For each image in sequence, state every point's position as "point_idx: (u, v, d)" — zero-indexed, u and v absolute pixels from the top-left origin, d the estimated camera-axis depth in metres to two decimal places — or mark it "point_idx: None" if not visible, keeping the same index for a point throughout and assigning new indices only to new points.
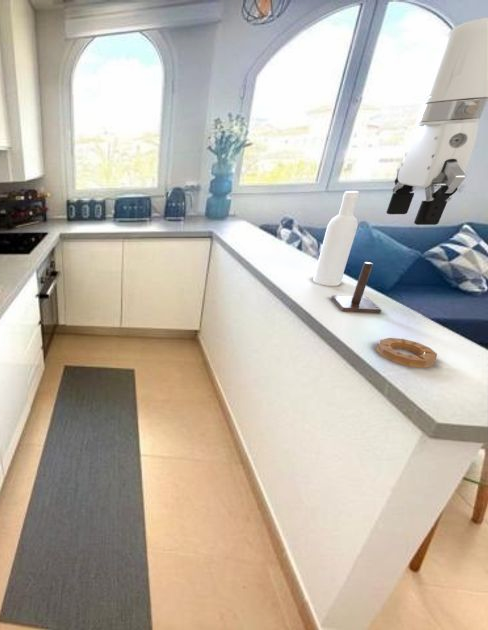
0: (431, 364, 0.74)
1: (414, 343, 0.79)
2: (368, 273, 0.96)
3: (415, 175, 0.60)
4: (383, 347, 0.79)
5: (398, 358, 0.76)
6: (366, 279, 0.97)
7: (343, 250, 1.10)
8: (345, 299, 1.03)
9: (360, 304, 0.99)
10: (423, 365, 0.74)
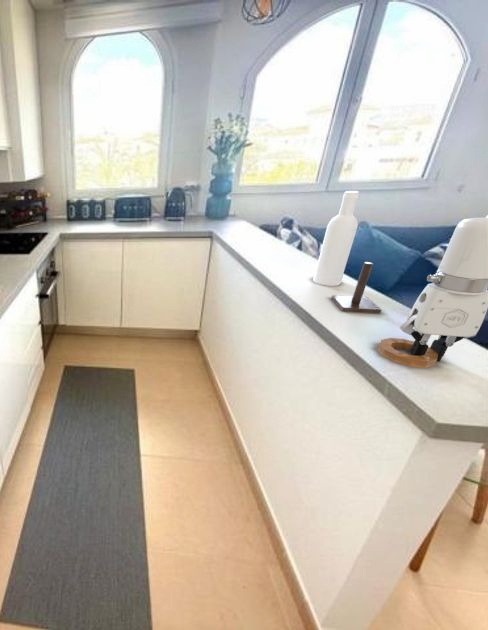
0: (432, 364, 0.74)
1: None
2: (368, 273, 0.96)
3: None
4: (384, 347, 0.79)
5: (399, 358, 0.75)
6: (366, 279, 0.97)
7: (343, 250, 1.10)
8: (345, 299, 1.03)
9: (360, 304, 0.99)
10: (424, 365, 0.74)
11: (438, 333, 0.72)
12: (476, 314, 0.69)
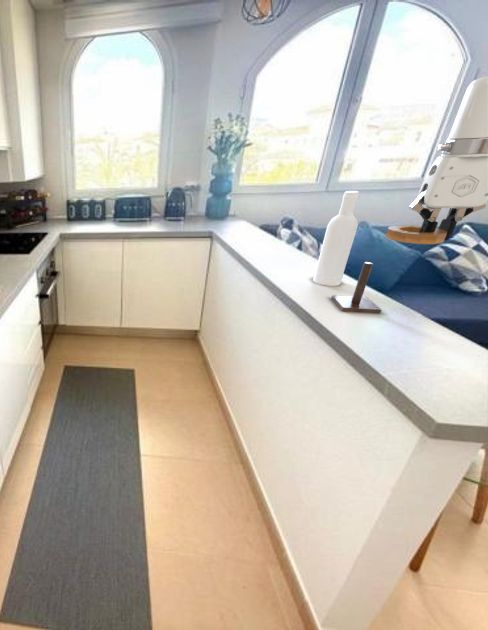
0: (442, 239, 0.74)
1: None
2: (368, 273, 0.96)
3: None
4: (393, 230, 0.78)
5: (409, 236, 0.75)
6: (366, 279, 0.97)
7: (343, 250, 1.10)
8: (345, 299, 1.03)
9: (360, 304, 0.99)
10: (434, 240, 0.73)
11: (448, 205, 0.72)
12: (486, 179, 0.69)
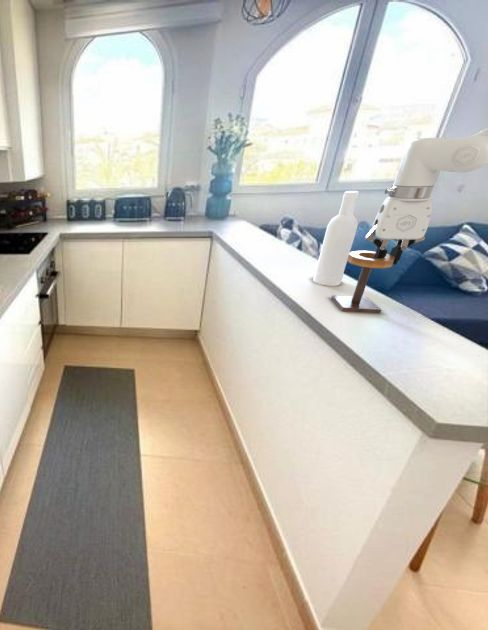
0: (390, 264, 0.91)
1: None
2: (368, 273, 0.96)
3: None
4: (352, 255, 0.95)
5: (363, 261, 0.92)
6: (366, 279, 0.97)
7: (343, 250, 1.10)
8: (345, 299, 1.03)
9: (360, 304, 0.99)
10: (383, 265, 0.91)
11: (394, 237, 0.89)
12: (423, 218, 0.86)
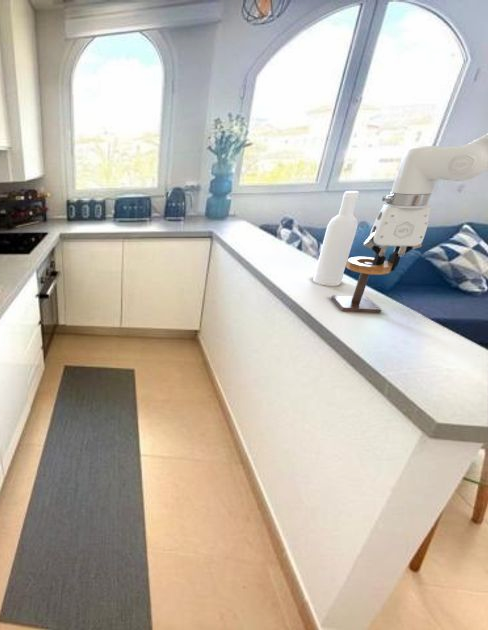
0: (388, 271, 0.92)
1: None
2: None
3: None
4: (350, 261, 0.96)
5: (361, 267, 0.93)
6: (366, 279, 0.97)
7: (343, 250, 1.10)
8: (345, 299, 1.03)
9: (360, 304, 0.99)
10: (381, 271, 0.91)
11: (392, 244, 0.90)
12: (420, 225, 0.86)
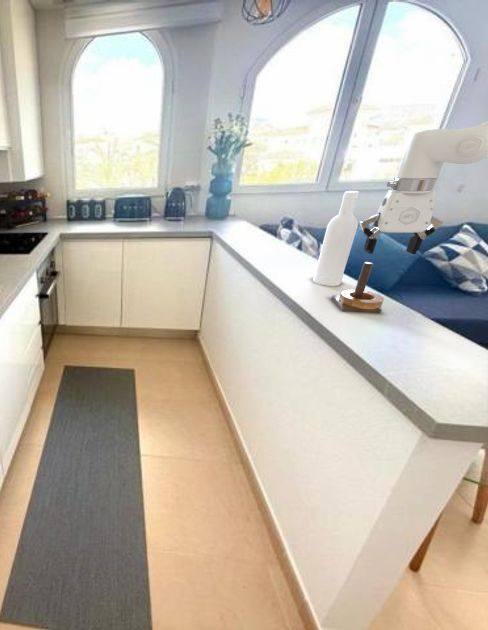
0: (379, 305, 0.96)
1: (367, 292, 1.01)
2: (368, 273, 0.96)
3: None
4: (344, 295, 1.01)
5: (354, 302, 0.98)
6: (366, 279, 0.97)
7: (343, 250, 1.10)
8: None
9: None
10: (373, 306, 0.96)
11: (396, 230, 0.88)
12: (426, 211, 0.85)
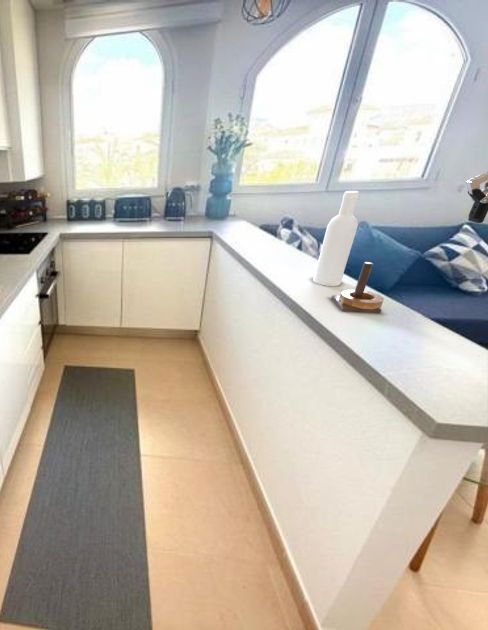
0: (379, 305, 0.96)
1: (367, 292, 1.01)
2: (368, 273, 0.96)
3: None
4: (344, 295, 1.01)
5: (354, 302, 0.98)
6: (366, 279, 0.97)
7: (343, 250, 1.10)
8: None
9: None
10: (373, 306, 0.96)
11: None
12: None
